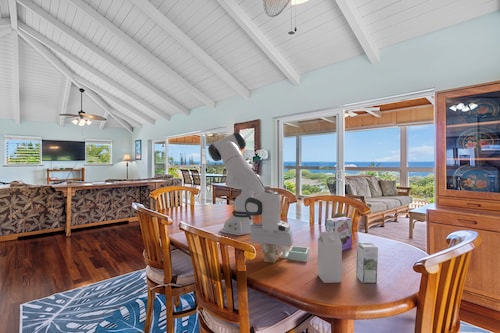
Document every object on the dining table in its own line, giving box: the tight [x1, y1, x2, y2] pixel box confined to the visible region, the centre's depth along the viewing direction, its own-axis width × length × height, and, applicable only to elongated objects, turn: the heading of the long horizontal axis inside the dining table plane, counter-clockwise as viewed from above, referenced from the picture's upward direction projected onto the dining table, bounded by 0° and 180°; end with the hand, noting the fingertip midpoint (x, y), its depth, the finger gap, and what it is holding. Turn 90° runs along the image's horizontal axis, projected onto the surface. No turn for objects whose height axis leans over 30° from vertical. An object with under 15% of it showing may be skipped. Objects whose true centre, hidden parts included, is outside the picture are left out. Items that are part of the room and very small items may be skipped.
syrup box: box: [355, 241, 379, 284], centre depth 101 cm, size 6×6×14 cm
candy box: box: [325, 216, 353, 251], centre depth 137 cm, size 14×6×16 cm, turn 117°
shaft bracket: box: [278, 245, 310, 263], centre depth 125 cm, size 13×9×13 cm, turn 70°
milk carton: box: [317, 231, 343, 284], centre depth 102 cm, size 7×7×19 cm
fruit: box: [331, 212, 347, 219], centre depth 158 cm, size 11×11×15 cm
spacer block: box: [263, 244, 278, 263], centre depth 121 cm, size 5×5×8 cm
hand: (270, 253), depth 121 cm, fingers closed on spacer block, 5 cm apart
